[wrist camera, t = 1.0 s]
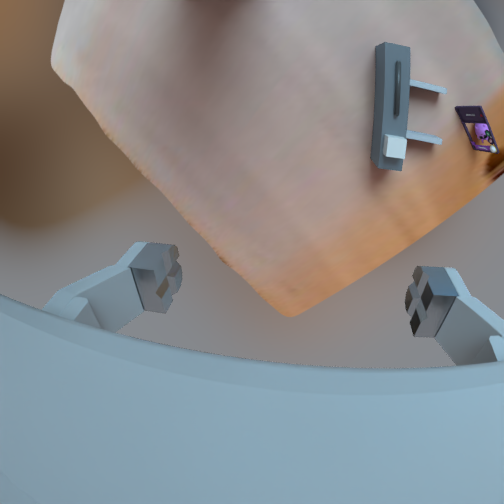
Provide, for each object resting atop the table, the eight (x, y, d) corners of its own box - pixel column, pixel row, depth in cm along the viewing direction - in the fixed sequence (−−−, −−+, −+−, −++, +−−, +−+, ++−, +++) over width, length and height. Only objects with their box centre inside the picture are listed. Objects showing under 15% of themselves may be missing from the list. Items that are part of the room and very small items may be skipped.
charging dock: (375, 46, 34) (388, 40, 28) (440, 61, 32) (461, 60, 26) (370, 158, 45) (381, 172, 39) (430, 167, 43) (448, 182, 37)
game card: (478, 108, 30) (496, 156, 33) (490, 96, 29) (508, 141, 32) (452, 109, 36) (471, 151, 39) (465, 97, 35) (484, 138, 38)
